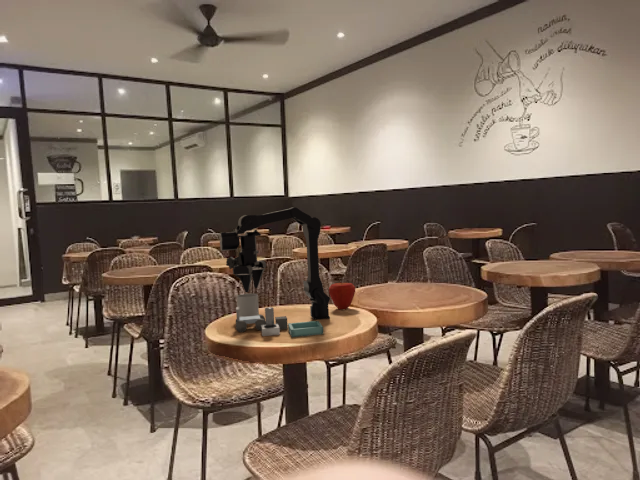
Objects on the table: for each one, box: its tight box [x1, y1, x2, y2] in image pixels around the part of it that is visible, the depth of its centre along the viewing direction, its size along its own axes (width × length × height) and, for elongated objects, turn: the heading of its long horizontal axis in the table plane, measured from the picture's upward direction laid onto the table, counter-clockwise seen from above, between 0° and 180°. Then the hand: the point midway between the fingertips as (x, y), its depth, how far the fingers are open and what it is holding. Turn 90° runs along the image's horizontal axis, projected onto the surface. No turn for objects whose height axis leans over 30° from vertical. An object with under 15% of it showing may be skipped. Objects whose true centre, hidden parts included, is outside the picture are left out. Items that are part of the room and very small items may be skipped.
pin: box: [264, 306, 275, 328], centre depth 170 cm, size 3×3×9 cm
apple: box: [328, 281, 356, 310], centre depth 206 cm, size 11×11×12 cm
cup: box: [236, 293, 260, 317], centre depth 193 cm, size 8×8×10 cm
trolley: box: [235, 306, 266, 333], centre depth 179 cm, size 11×9×8 cm
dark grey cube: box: [274, 315, 288, 331], centre depth 177 cm, size 4×4×4 cm
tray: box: [287, 320, 324, 338], centre depth 169 cm, size 11×10×2 cm
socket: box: [261, 323, 281, 337], centre depth 170 cm, size 6×6×2 cm
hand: (251, 290), depth 182 cm, fingers open, 9 cm apart
